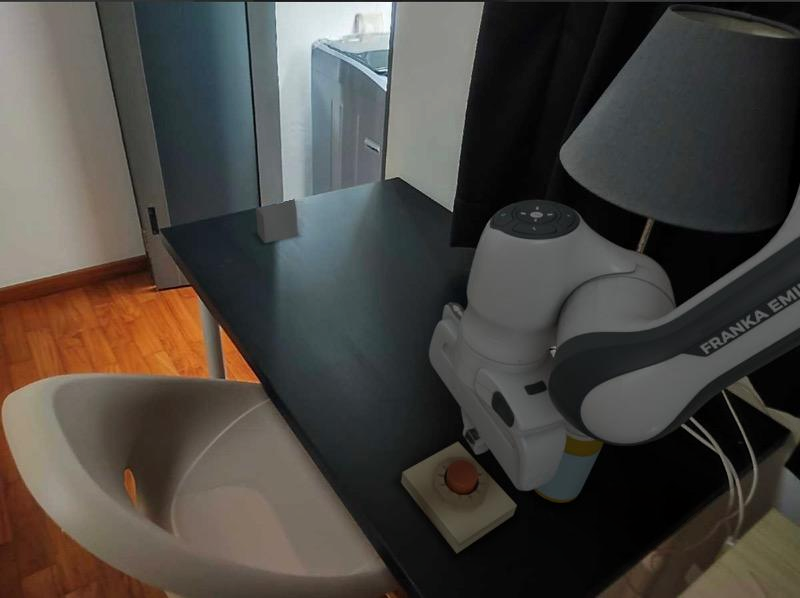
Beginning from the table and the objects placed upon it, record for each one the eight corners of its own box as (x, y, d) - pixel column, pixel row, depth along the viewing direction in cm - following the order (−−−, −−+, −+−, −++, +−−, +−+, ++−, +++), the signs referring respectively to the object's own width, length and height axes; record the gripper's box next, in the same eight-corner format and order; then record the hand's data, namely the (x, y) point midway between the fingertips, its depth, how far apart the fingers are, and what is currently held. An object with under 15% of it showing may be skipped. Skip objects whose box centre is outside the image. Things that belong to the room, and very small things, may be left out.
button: (481, 485, 69) (484, 476, 67) (458, 499, 67) (461, 490, 66) (462, 464, 71) (464, 455, 70) (439, 477, 69) (441, 468, 68)
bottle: (515, 480, 74) (543, 400, 65) (543, 450, 78) (574, 371, 69) (562, 516, 70) (599, 437, 61) (589, 482, 75) (627, 403, 66)
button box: (513, 515, 70) (520, 496, 67) (456, 553, 65) (462, 534, 63) (455, 451, 77) (460, 432, 74) (400, 482, 72) (403, 462, 70)
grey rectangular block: (297, 235, 115) (296, 190, 109) (265, 243, 112) (262, 197, 106) (289, 227, 117) (288, 182, 111) (257, 234, 114) (254, 188, 108)
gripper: (423, 299, 63) (410, 387, 71) (531, 441, 49) (499, 529, 57) (472, 288, 65) (454, 374, 74) (589, 420, 51) (550, 508, 60)
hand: (474, 443), depth 65 cm, fingers closed
